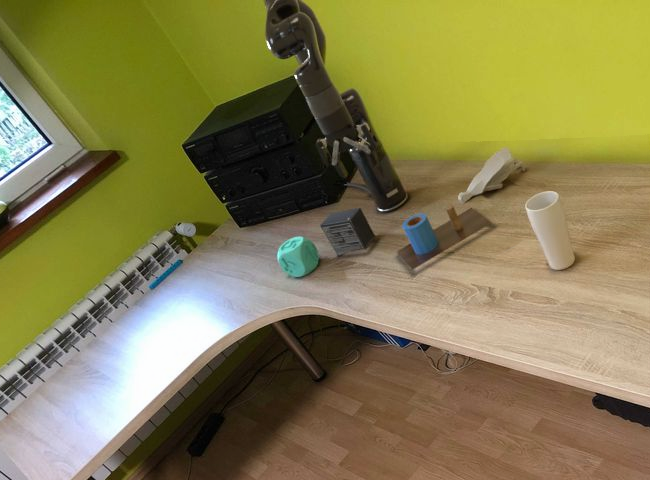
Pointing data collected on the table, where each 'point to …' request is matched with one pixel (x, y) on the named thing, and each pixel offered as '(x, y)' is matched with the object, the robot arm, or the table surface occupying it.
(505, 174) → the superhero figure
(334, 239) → the small box
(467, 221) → the tape rack
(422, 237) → the tape roll
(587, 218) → the table surface
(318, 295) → the table surface
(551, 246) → the drinking glass
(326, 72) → the robot arm
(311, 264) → the decorative dice
